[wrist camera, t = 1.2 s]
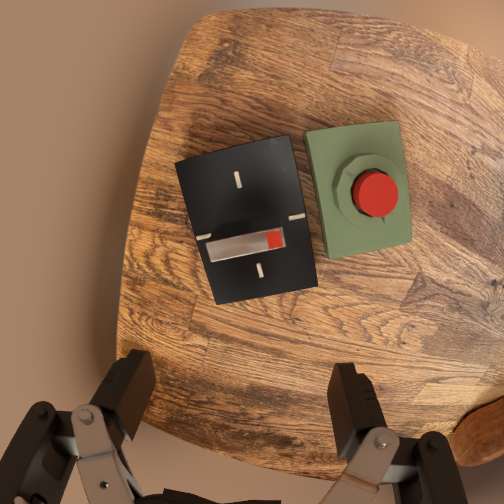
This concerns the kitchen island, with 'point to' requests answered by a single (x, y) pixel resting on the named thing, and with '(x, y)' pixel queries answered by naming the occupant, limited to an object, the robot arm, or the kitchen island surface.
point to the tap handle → (246, 237)
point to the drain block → (343, 179)
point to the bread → (480, 435)
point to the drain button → (375, 193)
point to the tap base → (250, 216)
